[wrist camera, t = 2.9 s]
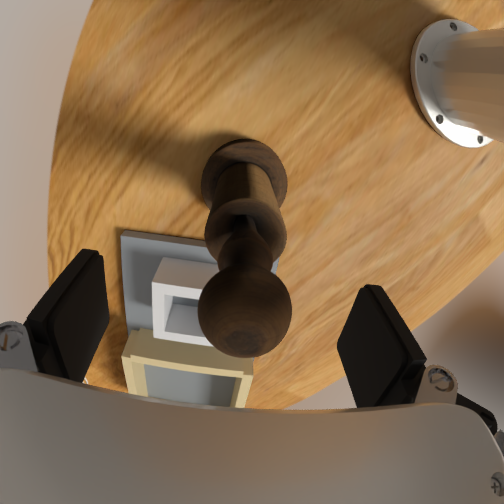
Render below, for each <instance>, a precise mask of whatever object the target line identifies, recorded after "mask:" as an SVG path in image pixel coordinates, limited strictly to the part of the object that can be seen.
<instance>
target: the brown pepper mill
mask: <svg viewBox="0 0 504 504" xmlns="http://www.w3.org/2000/svg"><path fill="white" fill-rule="evenodd" d="M201 189H202V195H203V198H204V201H205V203H206V205H207V206H208V208H209V209H210V213H209V216H208V220H207V223H206V227H205V233H204V237H205V244H206V247H207V249H208V251H209V253H210V255H211V256H212V257H213V258H214V259H215V260H216V261H217V264H218V269H219V272H218V273H216V274H215V275H214V276H213V277H212V278H211V279H210V280H209V281H208V282H207V283H206V285H205V286H204V288H203V290H202V292H201V294H200V297H199V301H198V309H197V311H198V321H199V324H200V327H201V330H202V332H203V334H204V336H205V337H206V339H207V340H208V341H209V342H210V343H211V344H212V345H213V346H214V347H215V348H216V349H217V350H219V351H221V352H222V353H224V354H226V355H229V356H232V357H237V358H253V357H258V356H261V355H264V354H266V353H268V352H269V351H271V350H272V349H274V348H275V347H276V346H277V345H278V344H279V343H280V342H281V341H282V339H283V338H284V336H285V335H286V333H287V331H288V328H289V325H290V322H291V316H292V305H291V299H290V296H289V293H288V291H287V288H286V286H285V285H284V283H283V282H282V281H281V280H280V279H279V278H278V277H277V276H276V275H275V274H274V273H273V272H271V270H272V267H273V263H274V262H275V261H276V260H277V259H278V258H279V257H280V255H281V254H282V252H283V250H284V248H285V245H286V240H287V232H286V227H285V224H284V221H283V218H282V215H281V212H280V209H279V208H280V207H281V205H282V203H283V201H284V199H285V196H286V192H287V176H286V172H285V169H284V166H283V164H282V163H281V161H280V159H279V157H278V156H277V155H276V153H275V152H274V151H273V150H272V149H271V148H269V147H268V146H266V145H265V144H263V143H261V142H258V141H255V140H251V139H239V140H234V141H231V142H228V143H226V144H224V145H223V146H221V147H220V148H218V149H217V150H216V151H215V152H214V153H213V154H212V156H211V157H210V159H209V160H208V162H207V164H206V166H205V169H204V171H203V175H202V180H201Z"/></svg>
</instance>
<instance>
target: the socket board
mask: <svg viewBox="0 0 504 504" xmlns="http://www.w3.org/2000/svg"><path fill="white" fill-rule="evenodd" d="M121 258H122V276H123V289H124V301H125V311H126V321H127V329H128V337H129V338H128V340H127V343H126V345H125V348H124V350H123V353H122V356H121V357H122V363H123V368H124V373H125V378H126V383H127V387H128V392H129V393H130V394H135V395H140V396H146V397H151V398H157V399H164V400H170V401H178V402H185V403H193V404H202V405H211V406H222V407H235V408H244V407H245V403H246V400H247V396H248V393H249V389H250V386H251V382H252V379H253V361H254V357H253V358H237V357H232V356H229V355H226V354H224V353H222V352H221V351H219V350H217V349H216V348H215V347H214V346H213V345H212V344H211V343H210V342H209V341H208V340H207V339H206V337H205V336H204V334H203V332H202V330H201V327H200V324H199V321H198V311H197V309H198V301H199V297H200V294H201V292H202V290H203V288H204V286H205V285H206V283H207V282H208V281H209V280H210V279H211V278H212V277H213V276H214V275H215V274H216V273H218V272H219V269H218V264H217V261H216V260H215V259H214V258H213V257H212V256H211V255H210V253H209V251H208V249H207V247H206V244H205V241H203V240H195V239H188V238H181V237H173V236H166V235H159V234H151V233H144V232H136V231H129V230H125V231H124V232H123V233H122V235H121ZM278 262H279V258H278V259H277V260H276V261H275V262H274V263H273V267H272V270H271V272H273V273H274V274H276V270H277V266H278Z"/></svg>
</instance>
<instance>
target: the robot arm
mask: <svg viewBox="0 0 504 504" xmlns="http://www.w3.org/2000/svg"><path fill="white" fill-rule="evenodd" d="M420 58H421V60H420ZM410 72H411V79H412V86H413V89H414V93H415V97H416V100H417V102H418V104H419V107H420V109H421V111H422V113H423V114H424V116H425V118H426V119H427V121H428V122H429V124H430V125H431V126H432V127H433V129H434V130H435V131H436V132H437V133H438V134H440V135H441V136H442V137H443V138H444V139H446V140H448V141H450V142H451V143H453V144H456V145H459V146H461V147H467V148H479V147H482V146H485V145H487V144H488V143H490V142H491V141H493V140H497V141H500V142H502V143H504V28H500V29H490V30H481V31H479V30H478V29H477V28H475V27H474V26H472V25H470V24H468V23H466V22H463V21H460V20H456V19H445V20H440V21H437V22H434V23H431V24H429V25H428V26H427V27H425V28H424V29H423V30H422V31H421V33H420V34H419V35H418V37H417V39H416V41H415V44H414V46H413V50H412V55H411V68H410ZM108 323H109V308H108V300H107V292H106V283H105V272H104V260H103V256H102V255H99V252H98V251H97V250H90V249H82V250H81V251H80V252H79V253H78V254H77V255H76V257H75V258H74V259H73V260H72V261H71V262H70V264H69V265H68V266H67V267H66V268H65V269H64V271H63V272H62V273H61V274H60V275H59V277H58V278H57V279H56V280H55V282H54V283H53V284H52V285H51V287H50V288H49V289H48V291H47V292H46V293H45V294H44V295H43V297H42V298H41V299H40V301H39V302H38V303H37V305H36V306H35V307H34V309H33V310H32V311H31V313H30V314H29V315H28V317H27V320H26V321H25V322H24V324H23V325H22V324H21V323H18V322H14V321H9V322H4V323H1V324H0V504H504V432H503V431H502V430H501V429H500V430H499V431H498V432H497V422H496V419H495V417H494V415H493V414H492V413H491V412H490V411H488V410H487V409H485V408H483V407H481V406H480V405H478V404H476V403H475V402H473V401H471V400H469V399H467V398H466V397H464V396H462V395H460V394H458V393H457V389H458V383H457V380H456V378H455V377H454V375H453V374H452V373H451V372H450V371H449V370H448V369H446V368H444V367H442V366H439V365H430V366H428V367H427V368H426V367H425V365H424V363H425V362H426V360H427V358H426V357H425V355H424V353H423V351H422V350H421V348H420V346H419V345H418V343H417V341H416V340H415V338H414V336H413V335H412V333H411V332H410V330H409V328H408V327H407V325H406V324H405V322H404V320H403V319H402V317H401V316H400V314H399V312H398V311H397V309H396V308H395V306H394V305H393V303H392V302H391V300H390V299H389V297H388V296H387V294H386V293H385V291H384V290H383V288H382V287H381V286H379V285H370V284H366V285H365V286H364V287H363V288H360V290H359V292H358V294H357V297H356V299H355V302H354V304H353V307H352V309H351V311H350V314H349V316H348V319H347V321H346V323H345V326H344V328H343V330H342V332H341V335H340V337H339V339H338V342H337V350H338V353H339V356H340V358H341V361H342V364H343V367H344V370H345V373H346V376H347V379H348V382H349V385H350V388H351V391H352V394H353V397H354V400H355V403H356V406H357V408H349V409H329V410H328V409H326V410H274V409H250V408H235V407H222V406H211V405H202V404H193V403H185V402H178V401H170V400H164V399H157V398H151V397H146V396H140V395H135V394H130V393H125V392H120V391H115V390H110V389H106V388H101V387H97V386H92V385H88V384H84V383H82V382H83V380H84V378H85V375H86V373H87V370H88V368H89V366H90V363H91V361H92V359H93V356H94V354H95V352H96V350H97V347H98V345H99V343H100V341H101V339H102V336H103V334H104V332H105V330H106V328H107V326H108Z"/></svg>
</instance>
